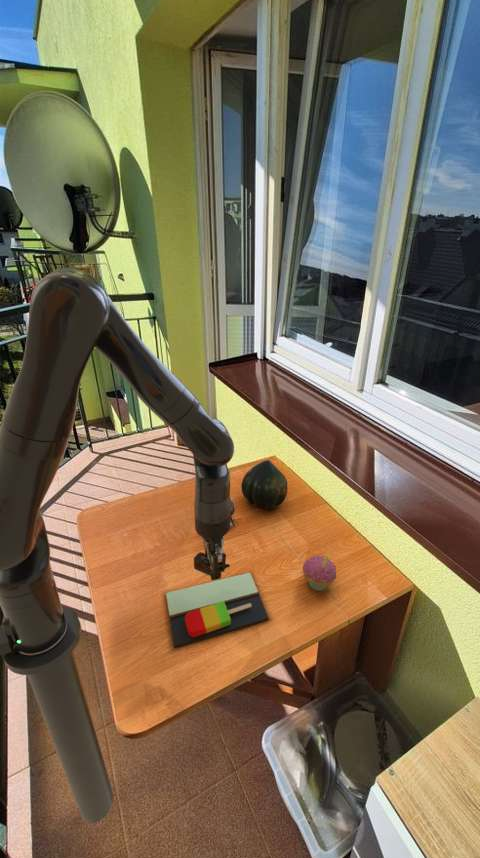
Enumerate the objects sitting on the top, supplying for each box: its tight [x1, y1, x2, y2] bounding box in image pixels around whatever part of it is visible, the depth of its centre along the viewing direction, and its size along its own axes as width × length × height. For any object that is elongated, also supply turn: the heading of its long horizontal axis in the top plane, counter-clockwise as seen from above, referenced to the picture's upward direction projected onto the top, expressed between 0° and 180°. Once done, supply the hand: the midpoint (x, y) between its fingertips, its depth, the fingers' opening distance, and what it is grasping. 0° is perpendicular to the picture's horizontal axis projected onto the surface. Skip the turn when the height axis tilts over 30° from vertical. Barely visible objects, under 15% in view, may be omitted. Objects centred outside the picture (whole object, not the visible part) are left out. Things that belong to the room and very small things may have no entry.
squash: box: [240, 459, 288, 511], centre depth 123 cm, size 14×15×15 cm
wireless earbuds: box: [193, 551, 231, 577], centre depth 87 cm, size 5×7×3 cm, turn 66°
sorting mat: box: [165, 572, 270, 649], centre depth 88 cm, size 21×14×1 cm, turn 112°
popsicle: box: [185, 601, 252, 637], centre depth 85 cm, size 6×15×2 cm, turn 115°
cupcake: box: [302, 553, 337, 591], centre depth 94 cm, size 9×8×12 cm
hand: (212, 568), depth 87 cm, fingers closed on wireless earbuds, 5 cm apart
